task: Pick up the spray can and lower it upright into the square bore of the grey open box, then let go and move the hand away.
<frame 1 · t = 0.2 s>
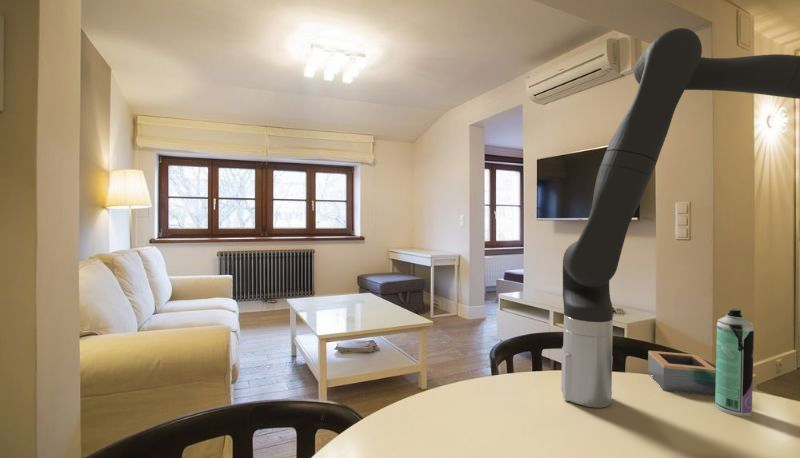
spray can: (733, 410, 75), on the table
grey open box: (680, 384, 87), on the table
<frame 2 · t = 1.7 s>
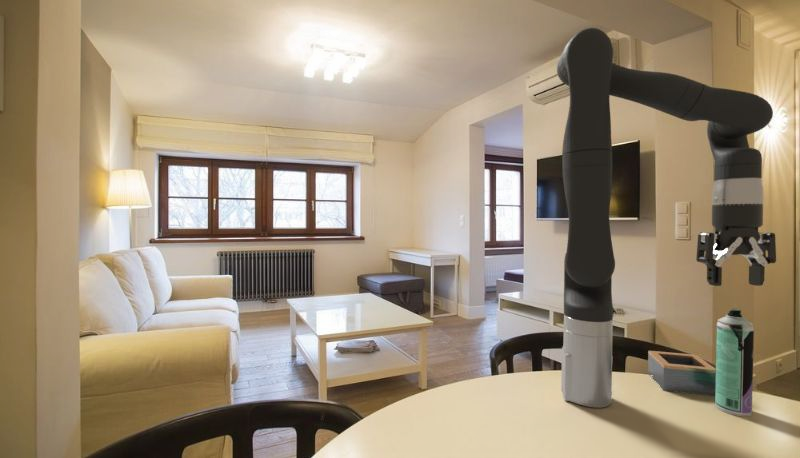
hand: (735, 285, 75), 25 cm above the table, fingers open, 8 cm apart
nothing on the table moved.
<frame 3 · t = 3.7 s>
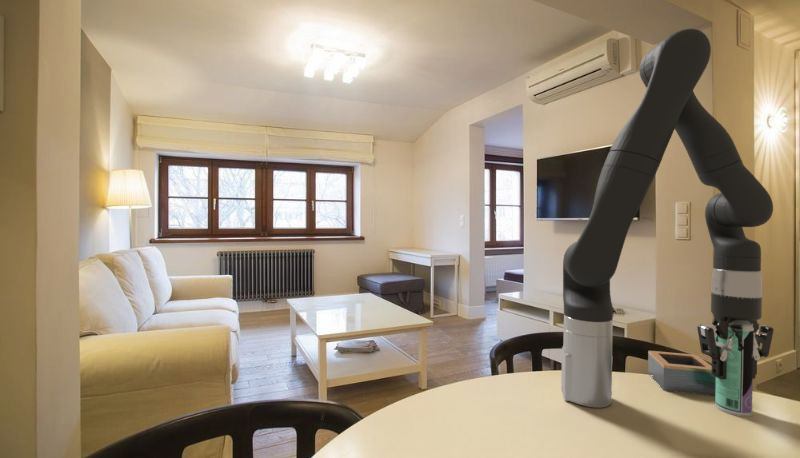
hand: (734, 377, 75), 7 cm above the table, fingers closed on spray can, 5 cm apart
spray can: (733, 410, 75), on the table, touching gripper
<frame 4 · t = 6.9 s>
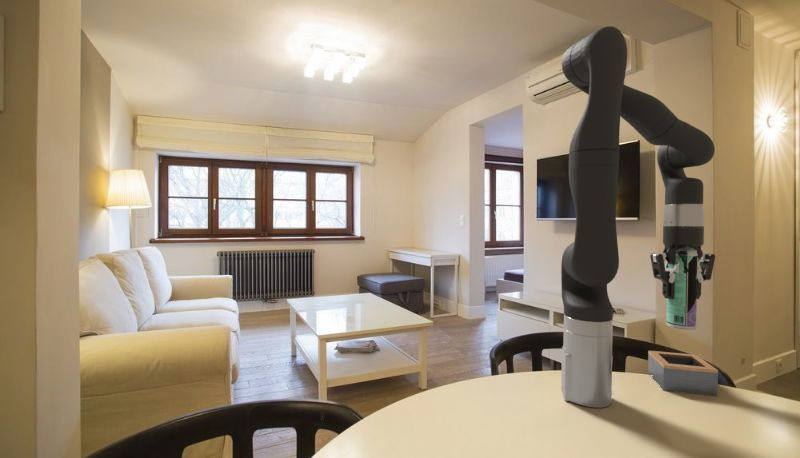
hand: (681, 298, 87), 20 cm above the table, fingers closed on spray can, 5 cm apart
spray can: (680, 327, 87), point 13 cm above the table, touching gripper
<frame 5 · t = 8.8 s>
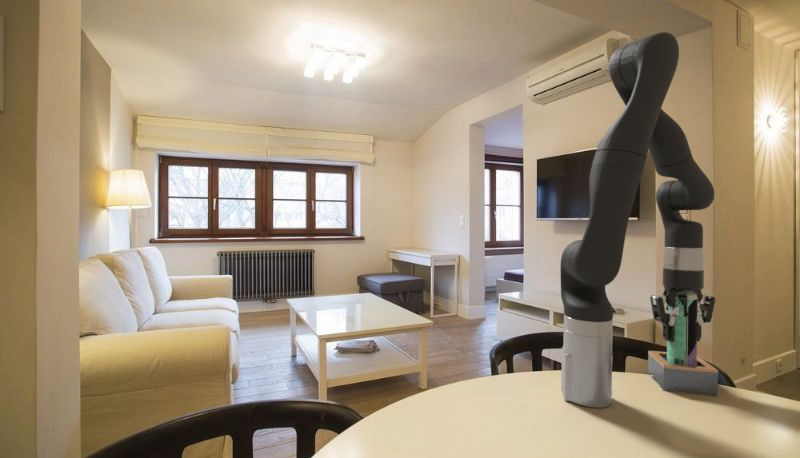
hand: (681, 340, 87), 10 cm above the table, fingers closed on spray can, 5 cm apart
spray can: (681, 369, 87), point 3 cm above the table, touching gripper
when the fingers open (8 cm above the table, at t = 10.0 s): spray can drops 1 cm, resting in grey open box.
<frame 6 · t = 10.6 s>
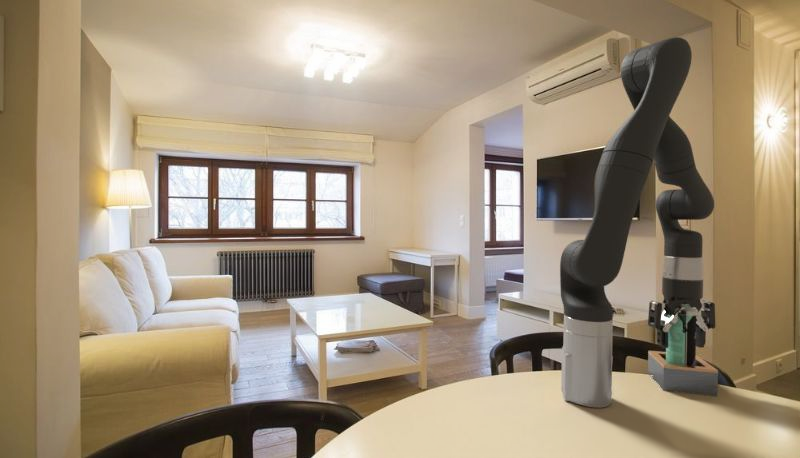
hand: (680, 346, 87), 9 cm above the table, fingers open, 8 cm apart
spray can: (679, 385, 87), resting in grey open box
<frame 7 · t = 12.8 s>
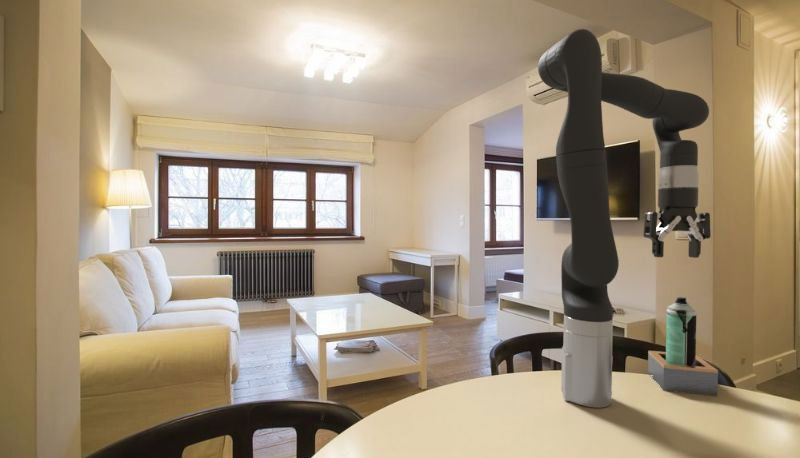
hand: (676, 257, 88), 29 cm above the table, fingers open, 8 cm apart
nothing on the table moved.
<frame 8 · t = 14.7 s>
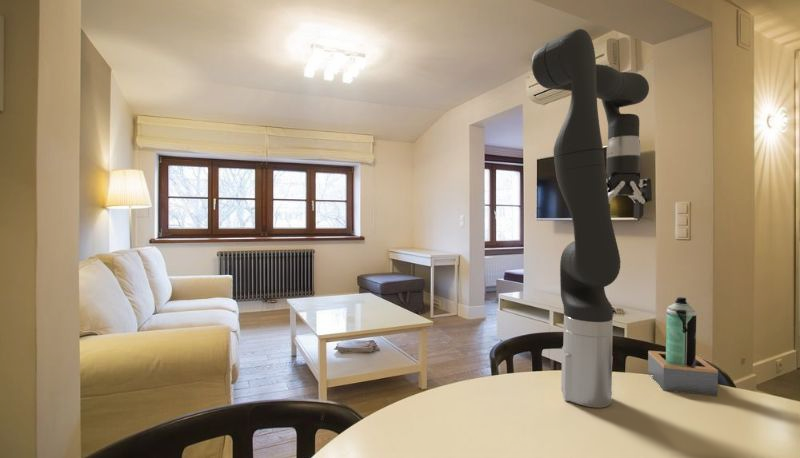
hand: (622, 218, 99), 38 cm above the table, fingers open, 8 cm apart
nothing on the table moved.
at the end: spray can 0.1 cm off-centre on the grey open box, point 0.0 cm above the grey open box's base; spray can tilted 0°; the gripper is holding nothing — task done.
